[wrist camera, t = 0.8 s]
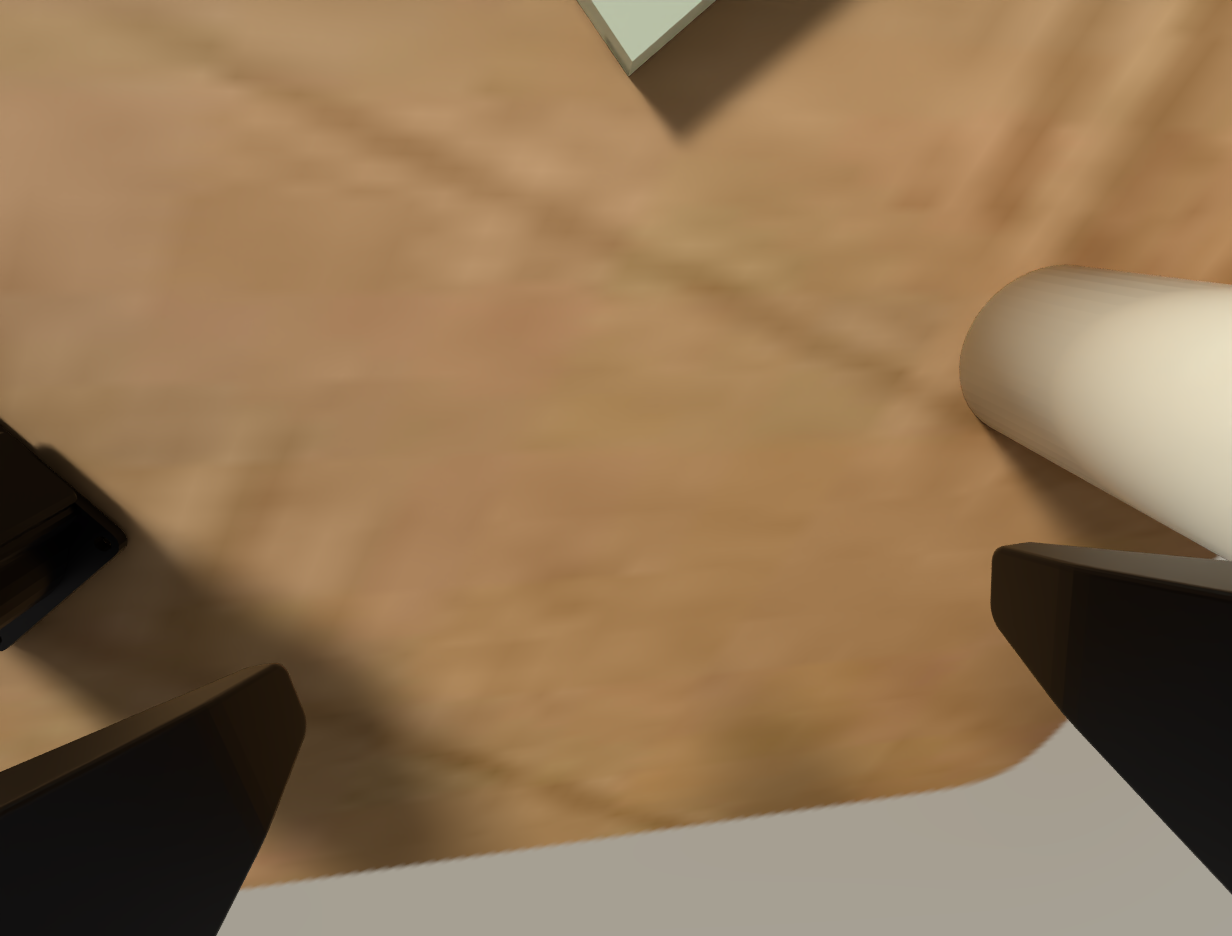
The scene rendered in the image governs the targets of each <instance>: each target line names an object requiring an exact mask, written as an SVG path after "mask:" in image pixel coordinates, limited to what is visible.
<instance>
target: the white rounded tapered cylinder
mask: <svg viewBox="0 0 1232 936" xmlns="http://www.w3.org/2000/svg"><path fill="white" fill-rule="evenodd" d="M959 370H960V382H961V388H962V391H963V394H964V397H965V399H966V401H967V403H968V405H969V407H970V408H971V410H972V411H973V413H974V414H975V415H976V416H977V417H978V418H979V419H980V420H981V421H982V422H983V423H985V424H986V425H988V426H989V427H991V428H992V429H994V430H996V431H998V432H1000V433H1001V434H1003V435H1005V436H1007V437H1008V438H1010V439H1012V440H1014V441H1016V442H1017V443H1019V444H1021V445H1023V446H1025V447H1026V448H1028V449H1030V450H1032V451H1033V452H1035V453H1037V454H1039V455H1041V456H1042V457H1044V458H1046V459H1048V460H1049V461H1051V462H1053V463H1055V464H1057V465H1058V466H1060V467H1062V468H1064V469H1066V470H1067V471H1069V472H1071V473H1073V474H1074V475H1076V476H1078V477H1080V478H1082V479H1083V480H1085V481H1087V482H1089V483H1090V484H1092V485H1094V486H1096V487H1098V488H1099V489H1101V490H1103V491H1105V492H1107V493H1108V494H1110V495H1112V496H1114V497H1115V498H1117V499H1119V500H1121V501H1123V502H1124V503H1126V504H1128V505H1130V506H1131V507H1133V508H1135V509H1137V510H1139V511H1140V512H1142V513H1144V514H1146V515H1148V516H1149V517H1151V518H1153V519H1155V520H1156V521H1158V522H1160V523H1162V524H1164V525H1165V526H1167V527H1169V528H1171V529H1172V530H1174V531H1176V532H1178V533H1180V534H1181V535H1183V536H1185V537H1187V538H1189V539H1190V540H1192V541H1194V542H1196V543H1197V544H1199V545H1201V546H1203V547H1205V548H1206V549H1208V550H1210V551H1212V552H1213V553H1215V554H1217V555H1219V556H1221V557H1222V558H1225V559H1226V560H1228V561H1232V285H1229V284H1221V283H1213V282H1205V281H1197V280H1189V279H1181V278H1173V277H1165V276H1157V275H1149V274H1141V273H1133V272H1125V271H1117V270H1109V269H1101V268H1093V267H1085V266H1077V265H1056V266H1050V267H1045V268H1041V269H1038V270H1035V271H1032V272H1029V273H1027V274H1025V275H1023V276H1021V277H1019V278H1017V279H1015V280H1014V281H1012V282H1011V283H1009V284H1007V285H1006V286H1005V287H1004V288H1002V289H1001V290H1000V291H999V292H997V293H996V294H995V295H994V296H993V297H992V298H991V299H990V300H989V301H988V302H987V303H986V305H985V306H984V307H983V308H982V310H981V311H980V312H979V314H978V315H977V317H976V318H975V320H974V321H973V323H972V325H971V327H970V329H969V331H968V333H967V336H966V338H965V341H964V344H963V348H962V352H961V357H960V366H959Z"/></svg>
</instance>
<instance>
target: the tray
mask: <svg viewBox="0 0 1232 936" xmlns="http://www.w3.org/2000/svg"><path fill="white" fill-rule="evenodd" d="M577 1H578V3H579V4H580V6H581V7H582V9H583V10H584V12H585V13H586V15H587V16H588V18H589V19H590V20H591V22H592V23H593V25H594V26H595V28H596V29H597V31H598V32H599V34H600V35H601V37H602V38H603V40H604V41H605V43H606V44H607V46H608V47H609V49H610V50H611V52H612V53H613V55H614V56H615V58H616V59H617V61H618V62H619V64H620V65H621V66H622V68H623V69H624V71H625V72H626V74H627V75H628V77H629V76H630V75H631V74H632V73H633V72H634V71H635V70H637V69H638V68H639V67H640V66H641V65H642V64H643V63H645V62H646V61H647V60H648V59H649V58H650V57H652V56H653V55H654V54H655V53H656V52H657V51H658V50H660V49H661V48H662V47H663V46H664V45H665V44H666V43H668V42H669V41H670V40H671V39H672V38H673V37H674V36H676V35H677V34H678V33H679V32H680V31H681V30H682V29H684V28H685V27H686V26H687V25H688V24H689V23H691V22H692V21H693V20H694V19H695V18H696V17H697V16H699V15H700V14H701V13H702V12H703V11H704V10H705V9H707V8H708V7H709V6H710V5H711V4H712V3H713V2H715V1H716V0H577Z"/></svg>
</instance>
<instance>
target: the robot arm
mask: <svg viewBox="0 0 1232 936" xmlns="http://www.w3.org/2000/svg"><path fill="white" fill-rule="evenodd" d="M103 537H105V538H107V539H108V540H109V541H110V543H111V545H109V544H107V543H105V541H104V540H103ZM126 546H127V537H126V534H125V533H124V532H123V531H122V529H120V528H119V527H118V526H117V525H116V524H115V523H113V522H112V521H111V520H110V519H109V518H108V517H106V516H105V515H104V514H103V513H102V512H101V511H99V510H98V509H97V508H96V507H95V506H94V505H92V504H91V503H90V502H89V501H88V500H87V499H85V498H84V497H83V496H82V495H81V494H80V493H78V492H77V491H76V490H75V489H74V488H73V487H71V486H70V485H69V484H68V483H67V482H66V481H64V480H63V479H62V478H61V477H60V476H59V475H57V474H56V473H55V472H54V471H53V470H52V469H50V468H49V467H48V466H47V465H46V464H45V463H43V462H42V461H41V460H40V459H39V458H38V457H36V456H35V455H34V454H33V453H32V452H31V451H29V450H28V449H27V448H26V447H25V446H24V445H22V444H21V443H20V442H19V441H18V440H17V439H15V438H14V437H13V436H12V435H11V434H10V433H8V432H7V431H6V430H5V429H4V428H3V427H1V426H0V651H3V650H5V649H7V648H8V647H10V646H11V645H12V644H14V643H15V642H16V641H17V640H19V639H20V638H21V637H22V636H23V635H24V634H26V633H27V632H28V631H29V630H30V629H31V628H33V627H34V626H35V625H36V624H37V623H38V622H40V621H41V620H42V619H43V618H44V617H45V616H47V615H48V614H49V613H50V612H51V611H52V610H54V609H55V608H56V607H57V606H58V605H59V604H61V603H62V602H63V601H64V600H65V599H66V598H68V597H69V596H70V595H71V594H72V593H73V592H75V591H76V590H77V589H78V588H79V587H80V586H82V585H83V584H84V583H85V582H86V581H87V580H89V579H90V578H91V577H92V576H93V575H94V574H96V573H97V572H98V571H99V570H100V569H101V568H103V567H104V566H105V565H106V564H107V563H108V562H110V561H111V560H112V559H113V558H114V557H115V556H117V555H118V554H119V553H120V552H121V551H122V550H124V548H125V547H126ZM990 603H991V612H992V616H993V619H994V621H995V623H996V625H997V627H998V629H999V630H1000V631H1001V633H1002V634H1003V635H1004V637H1005V638H1006V639H1007V641H1008V642H1009V643H1010V645H1011V646H1012V647H1013V649H1014V650H1015V651H1016V653H1017V654H1018V655H1019V657H1020V658H1021V659H1022V661H1023V662H1024V663H1025V665H1026V666H1027V667H1028V669H1029V670H1030V671H1031V673H1032V674H1033V675H1034V677H1035V678H1036V679H1037V681H1038V682H1039V683H1040V685H1041V686H1042V687H1043V689H1044V690H1045V691H1046V693H1047V694H1048V695H1049V697H1050V698H1051V699H1052V701H1053V702H1054V703H1055V704H1056V706H1057V707H1058V708H1059V709H1060V711H1061V712H1062V713H1063V714H1064V715H1065V716H1066V718H1067V719H1068V720H1069V721H1070V722H1071V723H1072V724H1073V725H1074V727H1075V728H1076V729H1077V730H1078V731H1079V732H1080V733H1081V734H1082V735H1083V736H1084V737H1085V738H1086V739H1087V741H1088V742H1090V744H1091V745H1092V746H1093V747H1094V748H1095V749H1096V750H1097V751H1098V752H1099V753H1100V754H1101V755H1102V757H1103V758H1104V759H1105V760H1106V761H1107V762H1108V763H1109V764H1110V765H1111V766H1112V767H1113V768H1114V769H1115V770H1116V771H1117V773H1118V774H1119V775H1120V776H1121V777H1122V778H1123V779H1124V780H1125V781H1126V782H1127V783H1128V784H1129V785H1130V786H1131V787H1132V788H1133V790H1134V791H1135V792H1136V793H1137V794H1138V795H1139V796H1140V797H1141V798H1142V799H1143V800H1144V801H1145V802H1146V803H1147V804H1148V805H1149V807H1150V808H1151V809H1152V810H1153V811H1154V812H1155V813H1156V814H1157V815H1158V816H1159V817H1160V818H1161V819H1162V820H1163V822H1164V823H1166V825H1167V826H1168V827H1169V828H1170V829H1171V830H1172V831H1173V832H1174V833H1175V834H1176V835H1177V836H1178V838H1179V839H1181V841H1182V842H1183V843H1184V844H1185V845H1186V846H1187V847H1188V848H1189V849H1190V850H1191V851H1192V852H1193V854H1194V855H1195V856H1196V857H1197V858H1198V859H1199V860H1200V861H1201V862H1202V863H1203V864H1204V865H1205V866H1206V867H1207V868H1208V869H1209V871H1210V872H1211V873H1212V874H1213V875H1214V876H1215V877H1216V878H1217V879H1218V880H1219V881H1220V882H1221V883H1222V884H1223V885H1224V886H1225V888H1226V889H1227V890H1228V891H1229V892H1230V893H1231V894H1232V561H1224V560H1213V559H1203V558H1192V557H1182V556H1171V555H1161V554H1150V553H1139V552H1129V551H1118V550H1108V549H1097V548H1087V547H1076V546H1065V545H1055V544H1044V543H1034V542H1028V543H1019V544H1013V545H1006V546H1002V547H999V548H997V549H996V551H995V552H994V554H993V557H992V573H991V602H990ZM305 731H306V719H305V714H304V711H303V708H302V706H301V703H300V701H299V698H298V696H297V693H296V691H295V688H294V686H293V683H292V681H291V678H290V676H289V674H288V672H287V670H286V668H285V667H284V666H282V665H281V664H279V663H270V664H264V665H258V666H252V667H248V668H245V669H243V670H240V671H238V672H236V673H233V674H231V675H229V676H226V677H224V678H221V679H219V680H217V681H214V682H212V683H210V684H207V685H205V686H203V687H200V688H198V689H195V690H193V691H191V692H188V693H186V694H184V695H181V696H179V697H177V698H174V699H172V700H169V701H167V702H165V703H162V704H160V705H158V706H155V707H153V708H151V709H148V710H146V711H143V712H141V713H139V714H136V715H134V716H132V717H129V718H127V719H124V720H122V721H120V722H117V723H115V724H113V725H110V726H108V727H106V728H103V729H101V730H98V731H96V732H94V733H91V734H89V735H87V736H84V737H82V738H80V739H77V740H75V741H72V742H70V743H68V744H65V745H63V746H61V747H58V748H56V749H54V750H51V751H49V752H46V753H44V754H42V755H39V756H37V757H35V758H32V759H30V760H28V761H25V762H23V763H20V764H18V765H16V766H13V767H11V768H9V769H6V770H4V771H2V772H0V936H216V935H217V933H218V931H219V929H220V927H221V925H222V923H223V921H224V919H225V917H226V915H227V913H228V911H229V909H230V907H231V905H232V904H233V901H234V899H235V898H236V896H237V894H238V892H239V890H240V888H241V886H242V884H243V882H244V880H245V878H246V876H247V874H248V872H249V870H250V868H251V866H252V864H253V862H254V860H255V858H256V856H257V854H258V852H259V850H260V848H261V846H262V844H263V841H264V839H265V837H266V835H267V833H268V830H269V828H270V825H271V823H272V820H273V818H274V816H275V813H276V810H277V808H278V805H279V802H280V800H281V797H282V795H283V792H284V789H285V787H286V784H287V781H288V779H289V776H290V774H291V771H292V768H293V766H294V763H295V760H296V758H297V755H298V753H299V750H300V747H301V745H302V742H303V739H304V736H305Z"/></svg>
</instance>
